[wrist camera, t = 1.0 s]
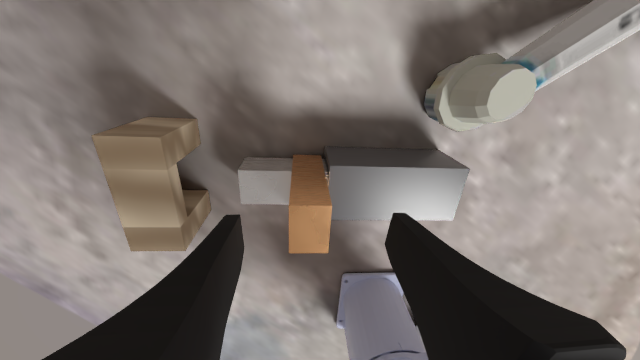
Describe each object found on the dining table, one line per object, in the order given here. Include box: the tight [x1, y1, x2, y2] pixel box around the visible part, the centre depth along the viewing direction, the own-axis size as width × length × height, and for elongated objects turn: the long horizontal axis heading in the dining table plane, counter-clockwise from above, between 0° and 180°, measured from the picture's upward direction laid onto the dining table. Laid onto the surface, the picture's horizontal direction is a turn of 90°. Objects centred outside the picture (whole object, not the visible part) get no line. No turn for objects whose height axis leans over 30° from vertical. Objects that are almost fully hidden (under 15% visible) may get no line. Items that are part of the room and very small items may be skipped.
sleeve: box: [324, 147, 470, 220], centre depth 22 cm, size 5×11×5 cm, turn 87°
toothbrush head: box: [424, 0, 640, 132], centre depth 18 cm, size 5×7×25 cm
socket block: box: [91, 117, 211, 251], centre depth 20 cm, size 9×4×6 cm, turn 177°
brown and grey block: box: [238, 155, 332, 253], centre depth 19 cm, size 4×16×9 cm, turn 87°
